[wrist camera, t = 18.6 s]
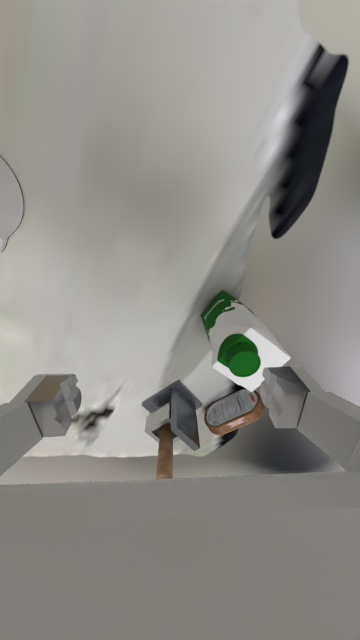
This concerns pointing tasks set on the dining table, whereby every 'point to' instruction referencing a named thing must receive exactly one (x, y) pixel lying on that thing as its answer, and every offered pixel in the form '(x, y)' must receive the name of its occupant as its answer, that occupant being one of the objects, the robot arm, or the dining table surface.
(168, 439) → the brown wooden rod
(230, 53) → the dining table surface
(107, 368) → the dining table surface
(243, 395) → the tin
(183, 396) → the bracket
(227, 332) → the milk carton
